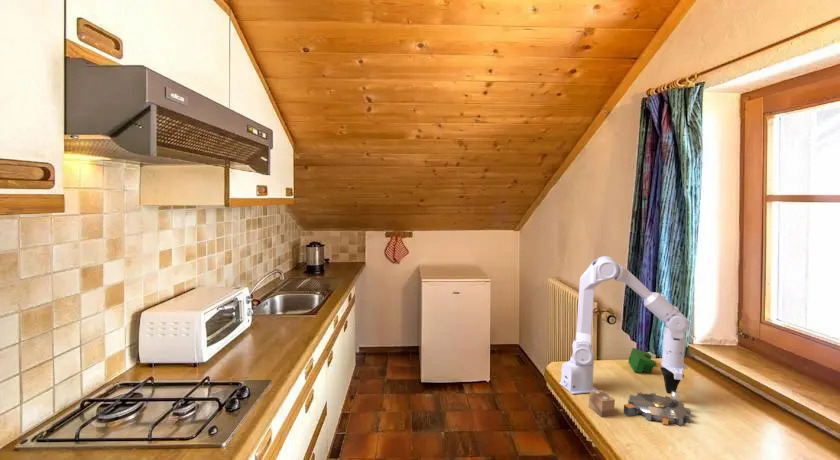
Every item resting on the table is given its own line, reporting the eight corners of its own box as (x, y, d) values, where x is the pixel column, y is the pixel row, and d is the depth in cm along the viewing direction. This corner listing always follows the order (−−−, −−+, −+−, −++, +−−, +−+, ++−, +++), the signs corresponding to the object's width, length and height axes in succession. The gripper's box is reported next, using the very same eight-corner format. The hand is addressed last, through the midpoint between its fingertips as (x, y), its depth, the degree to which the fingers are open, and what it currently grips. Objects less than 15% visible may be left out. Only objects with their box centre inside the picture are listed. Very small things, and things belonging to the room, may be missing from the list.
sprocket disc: (655, 427, 116) (656, 409, 116) (616, 399, 132) (617, 383, 131) (705, 422, 119) (706, 404, 119) (660, 395, 135) (661, 379, 135)
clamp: (647, 385, 153) (658, 367, 149) (630, 379, 155) (640, 361, 150) (644, 361, 163) (654, 344, 159) (627, 356, 165) (637, 339, 160)
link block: (613, 416, 122) (614, 399, 122) (601, 417, 122) (602, 400, 121) (600, 406, 128) (601, 389, 128) (588, 407, 127) (589, 390, 127)
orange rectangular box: (627, 416, 122) (628, 407, 122) (623, 413, 124) (624, 404, 124) (635, 415, 123) (635, 406, 123) (630, 412, 125) (631, 403, 124)
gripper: (695, 360, 122) (692, 405, 123) (681, 343, 136) (678, 385, 137) (668, 357, 124) (665, 401, 126) (656, 341, 138) (654, 381, 139)
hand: (670, 392), depth 132 cm, fingers closed
